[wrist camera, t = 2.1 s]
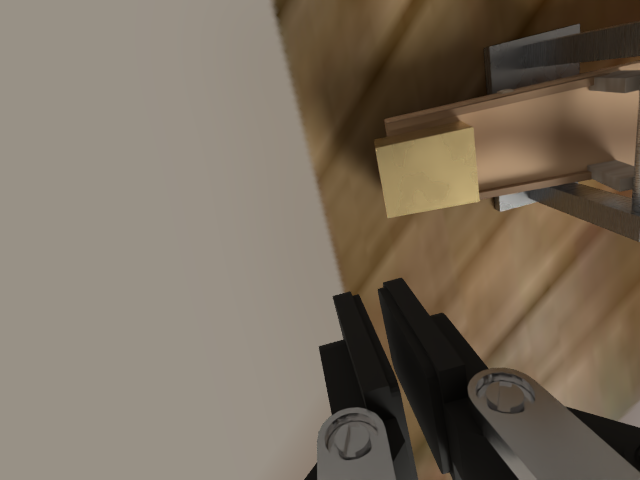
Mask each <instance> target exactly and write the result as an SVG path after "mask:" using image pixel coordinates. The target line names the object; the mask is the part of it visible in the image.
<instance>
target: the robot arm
mask: <svg viewBox="0 0 640 480" xmlns="http://www.w3.org/2000/svg"><path fill="white" fill-rule="evenodd" d="M383 287H384V288H380V289H378V295H379V300H380V305H381V309H382V314H383V319H384V324H385V329H386V334H387V339H388V343H389V348H390V353H391V358H392V362H393V366H394V369H395V372H396V374H397V377H398V379H399V381H400V383H401V385H402V388H403V390H404V392H405V394H406V396H407V399H408V401H409V403H410V405H411V407H412V410H413V412H414V414H415V416H416V418H417V421H418V423H419V425H420V427H421V429H422V432H423V434H424V436H425V438H426V440H427V443H428V445H429V447H430V449H431V452H432V454H433V456H434V458H435V460H436V463H437V465H438V467H439V469H440V471H441V473H442V474H446V473H449V472H450V474H451V476H452V479H453V480H640V428H638V427H635V426H632V425H628V424H625V423H621V422H618V421H614V420H611V419H607V418H604V417H600V416H597V415H593V414H590V413H586V412H583V411H579V410H576V409H572V408H569V407H565V406H564V405H562V404H561V403H560V402H559V401H558V400H557V399H556V398H554V397H553V396H552V395H551V394H550V393H549V392H548V391H546V390H545V389H544V388H543V387H542V386H541V385H540V384H539V383H537V382H536V381H535V380H534V379H532V378H531V377H529V376H528V375H526V374H524V373H522V372H519V371H517V370H514V369H508V368H490V369H488V367H487V366H486V365H485V364H484V362H483V361H482V360H481V359H480V357H479V356H478V355H477V354H476V352H475V351H474V350H473V349H472V347H471V346H470V345H469V344H468V342H467V341H466V340H465V339H464V338H463V336H462V335H461V334H460V333H459V331H458V330H457V329H456V328H455V326H454V325H453V324H452V323H451V321H450V320H449V319H448V318H447V316H446V315H445V314H444V313H439V314H435V315H431V316H429V314H428V313H427V312H426V310H425V309H424V307H423V306H422V305H421V303H420V302H419V300H418V299H417V298H416V296H415V295H414V294H413V292H412V291H411V289H410V288H409V287H408V285H407V284H406V283H405V281H404V280H403V279H402V278H398V279H394V280H391V281H387V282H383ZM333 300H334V304H335V308H336V312H337V315H338V319H339V323H340V327H341V331H342V335H343V339H344V340H341V341H337V342H333V343H329V344H326V345H322V346H319V350H320V355H321V361H322V366H323V371H324V376H325V382H326V387H327V392H328V397H329V402H330V407H331V413H332V416H330V417H329V418H328V419H327V420H326V421H325V422H324V423H323V425H322V427H321V429H320V431H319V433H318V439H317V463H316V465H315V466H314V467H313V469H312V470H311V471H310V473H309V474H308V475H307V477H306V478H305V479H304V480H418V477H417V472H416V467H415V462H414V457H413V452H412V447H411V442H410V437H409V432H408V427H407V423H406V418H405V413H404V408H403V403H402V398H401V393H400V389H399V386H398V383H397V380H396V377H395V374H394V372H393V370H392V368H391V365H390V363H389V361H388V359H387V356H386V354H385V352H384V350H383V347H382V345H381V343H380V341H379V338H378V336H377V334H376V332H375V329H374V327H373V325H372V323H371V321H370V318H369V316H368V314H367V312H366V309H365V307H364V305H363V303H362V300H361V298H360V296H359V294H358V295H354V296H352V294H351V292H347V293H343V294H339V295H335V296H333Z"/></svg>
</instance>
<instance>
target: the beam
mask: <svg viewBox="0 0 640 480" xmlns="http://www.w3.org/2000/svg"><path fill="white" fill-rule="evenodd" d="M639 88H640V60H639V61H634V62H630V63H626V64H621V65H617V66H613V67H608V68H604V69H600V70H595V71H591V72H587V73H582V74H578V75H573V76H569V77H565V78H560V79H556V80H552V81H547V82H543V83H539V84H534V85H530V86H526V87H521V88H517V89H505V90H501V91H497V93H495V94H491V95H487V96H482V97H478V98H474V99H469V100H465V101H461V102H456V103H452V104H448V105H443V106H439V107H435V108H430V109H426V110H422V111H417V112H413V113H409V114H404V115H400V116H395V117H391V118H387V119H384V122H385V128H386V134H387V137H388V136H393V135H397V134H402V133H406V132H411V131H415V130H420V129H424V128H429V127H433V126H438V125H442V124H447V123H451V122H456V121H462V122H464V123H466V124H468V125H470V126H472V127H473V128H474V140H475V151H476V163H477V175H478V187H479V198H480V200H481V199H486V198H491V197H497V196H502V195H510V194H516V193H519V192H524V191H530V190H535V189H541V188H546V187H552V186H557V185H562V184H568V183H573V182H579V181H584V180H590V179H594V180H596V181H598V182H600V183H602V184H604V185H606V186H609V187H611V188H613V189H615V190H617V191H625V190H631V189H633V177H634V162H635V147H636V133H637V118H638V103H639Z"/></svg>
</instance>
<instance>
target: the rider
mask: <svg viewBox="0 0 640 480" xmlns="http://www.w3.org/2000/svg"><path fill="white" fill-rule="evenodd" d="M374 144H375V150H376V156H377V161H378V167H379V172H380V178H381V184H382V189H383V195H384V200H385V206H386V211H387V217H388V218H391V217H396V216H402V215H407V214H413V213H418V212H424V211H429V210H435V209H440V208H446V207H451V206H457V205H462V204H468V203H473V202H479V201H480V198H479V187H478V175H477V163H476V151H475V140H474V128H473V127H472V126H470V125H468V124H466V123H464V122H462V121H456V122H451V123H447V124H442V125H438V126H433V127H429V128H424V129H420V130H415V131H411V132H406V133H402V134H397V135H393V136H388V137H384V138H379V139H375V140H374Z"/></svg>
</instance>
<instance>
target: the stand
mask: <svg viewBox="0 0 640 480" xmlns="http://www.w3.org/2000/svg"><path fill="white" fill-rule="evenodd" d="M635 56H640V21H635V22H630V23H625V24H620V25H615V26H610V27H606V28H601V29H596V30H591V31H586V32H581V33H580V24H576V25H572V26H568V27H564V28H560V29H556V30H552V31H548V32H545V33H541V34H537V35H533V36H529V37H525V38H521V39H517V40H513V41H509V42H505V43H502V44H498V45H494V46H490V47H486V48H484V58H485V72H486V87H487V95H491V94H495V93H497V91H501V90H505V89H517V88H521V87H526V86H530V85H534V84H539V83H543V82H547V81H552V80H556V79H560V78H565V77H569V76H573V75H578V74H579V63H580V62H589V61H598V60H607V59H616V58H626V57H635ZM494 201H495V209H496V210H498V211H500V212H501V211H505V210H508V209H512V208H516V207H519V206H523V205H527V204H531V203H534V202H539V203H542V204H544V205H547V206H549V207H552V208H554V209H557V210H559V211H562V212H565V213H567V214H570V215H572V216H575V217H577V218H580V219H582V220H585V221H587V222H590V223H592V224H595V225H597V226H600V227H602V228H605V229H608V230H610V231H613V232H615V233H618V234H620V235H623V236H625V237H628V238H630V239H633V240H635V241H638V242H640V88H639V103H638V118H637V133H636V147H635V162H634V177H633V192H632V198H628V197H625V196H621V195H618V194H614V193H611V192H607V191H604V190H600V189H596V188H593V187H589V186H586V185H582V184H579V183H578V182H573V183H568V184H562V185H557V186H552V187H546V188H541V189H535V190H530V191H524V192H519V193H516V194H510V195H502V196H497V197H494Z"/></svg>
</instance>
